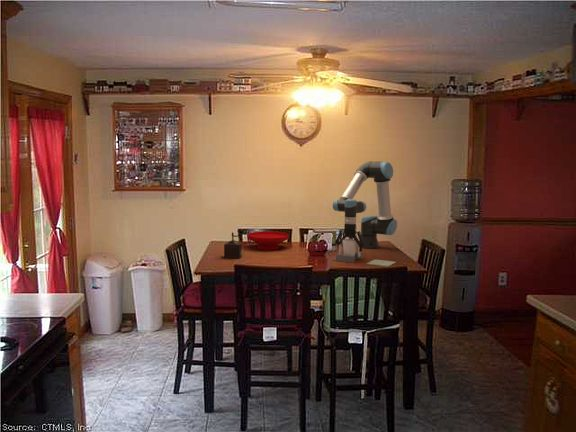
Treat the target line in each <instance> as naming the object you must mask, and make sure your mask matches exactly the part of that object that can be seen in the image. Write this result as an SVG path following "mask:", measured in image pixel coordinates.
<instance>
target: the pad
mask: <svg viewBox="0 0 576 432" xmlns="http://www.w3.org/2000/svg"><path fill="white" fill-rule="evenodd" d="M396 262H397V261H392V260H391V261H390V260H383V259H373V260H370V261H368V262H367V263H366V265H371V266H372V265H373V266H380V267H386V268H388V267H390V266H392V265H395V264H396Z"/></svg>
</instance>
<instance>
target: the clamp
mask: <svg viewBox="0 0 576 432" xmlns="http://www.w3.org/2000/svg"><path fill="white" fill-rule="evenodd" d="M363 258H364V253H363V252H361V256H360V257H358V251H356V252H355V256H352V255H344V253H341V254H339V253H336V254H335V257H334V258H332V261H336V262H344V263H352V264H354V263H355V262H356V260H362V259H363ZM363 260H364V259H363Z"/></svg>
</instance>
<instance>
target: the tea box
mask: <svg viewBox="0 0 576 432" xmlns="http://www.w3.org/2000/svg"><path fill="white" fill-rule="evenodd" d="M312 232H314V233H332V234H333V240H332V250H328V251H327V252H329V251H330V252H336V247H337V244H336V243H335V241H336V239H337V230H336V229H332V228H320V229H317V228H315V229H314V228H313V229H312Z"/></svg>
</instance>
